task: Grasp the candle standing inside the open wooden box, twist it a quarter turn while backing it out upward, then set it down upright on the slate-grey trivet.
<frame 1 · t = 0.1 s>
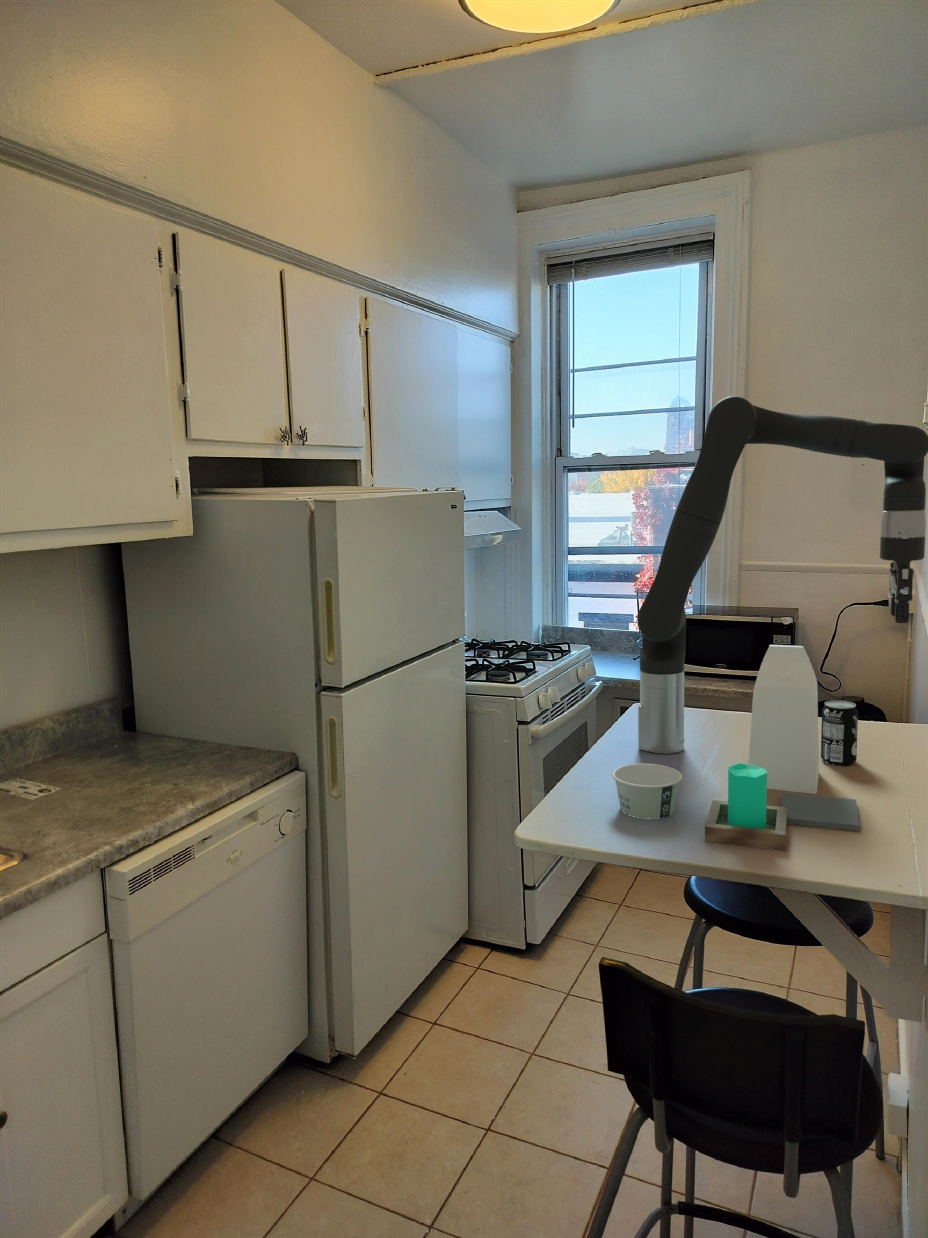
hand: (899, 619, 162), 29 cm above the table, fingers open, 8 cm apart
beverage can: (838, 762, 170), on the table
candle: (746, 832, 138), resting in open wooden box
trivet: (818, 813, 144), on the table
food container: (647, 810, 149), on the table
milk: (783, 781, 161), on the table
open wooden box: (746, 831, 138), on the table
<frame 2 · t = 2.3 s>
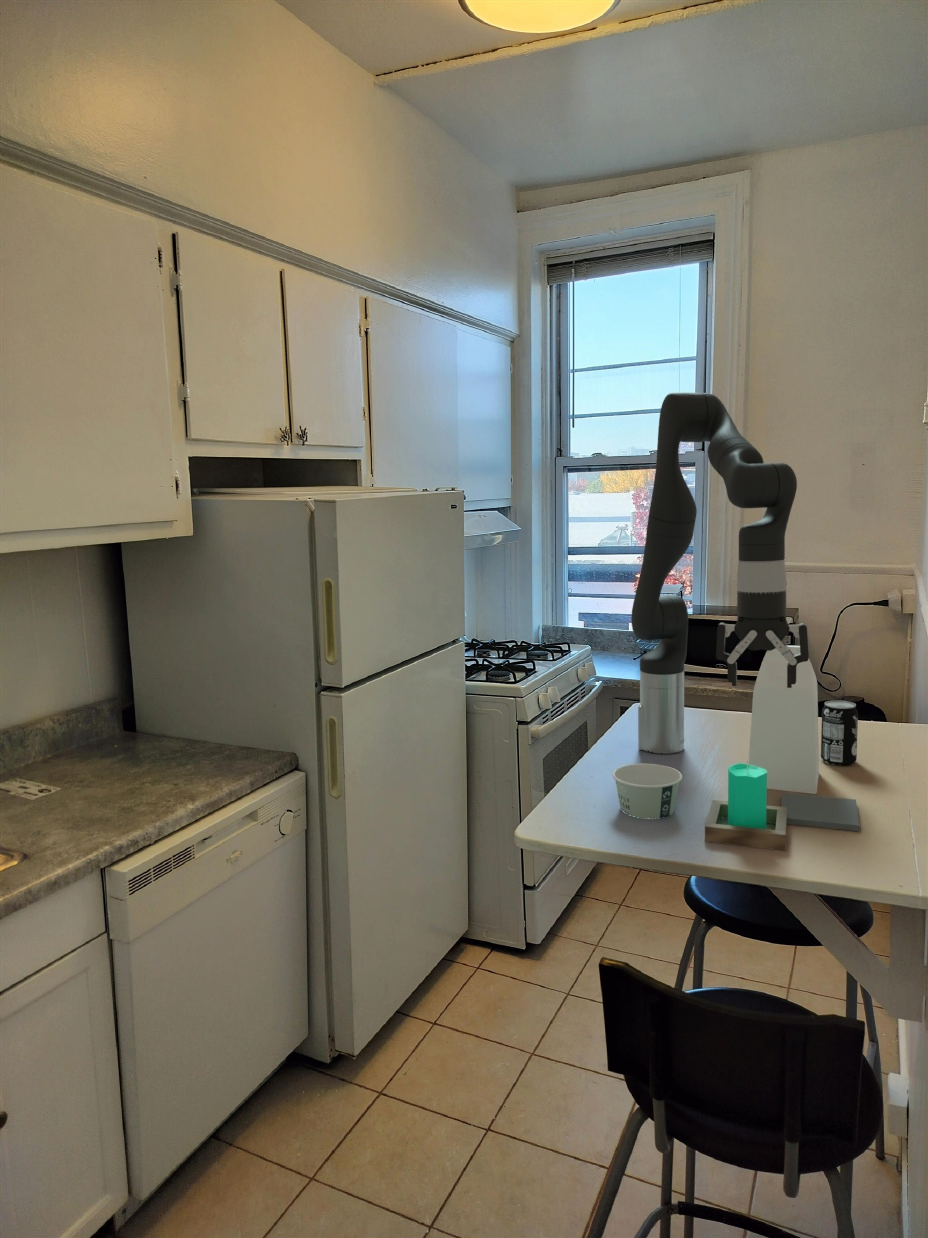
hand: (761, 686, 139), 23 cm above the table, fingers open, 8 cm apart
nothing on the table moved.
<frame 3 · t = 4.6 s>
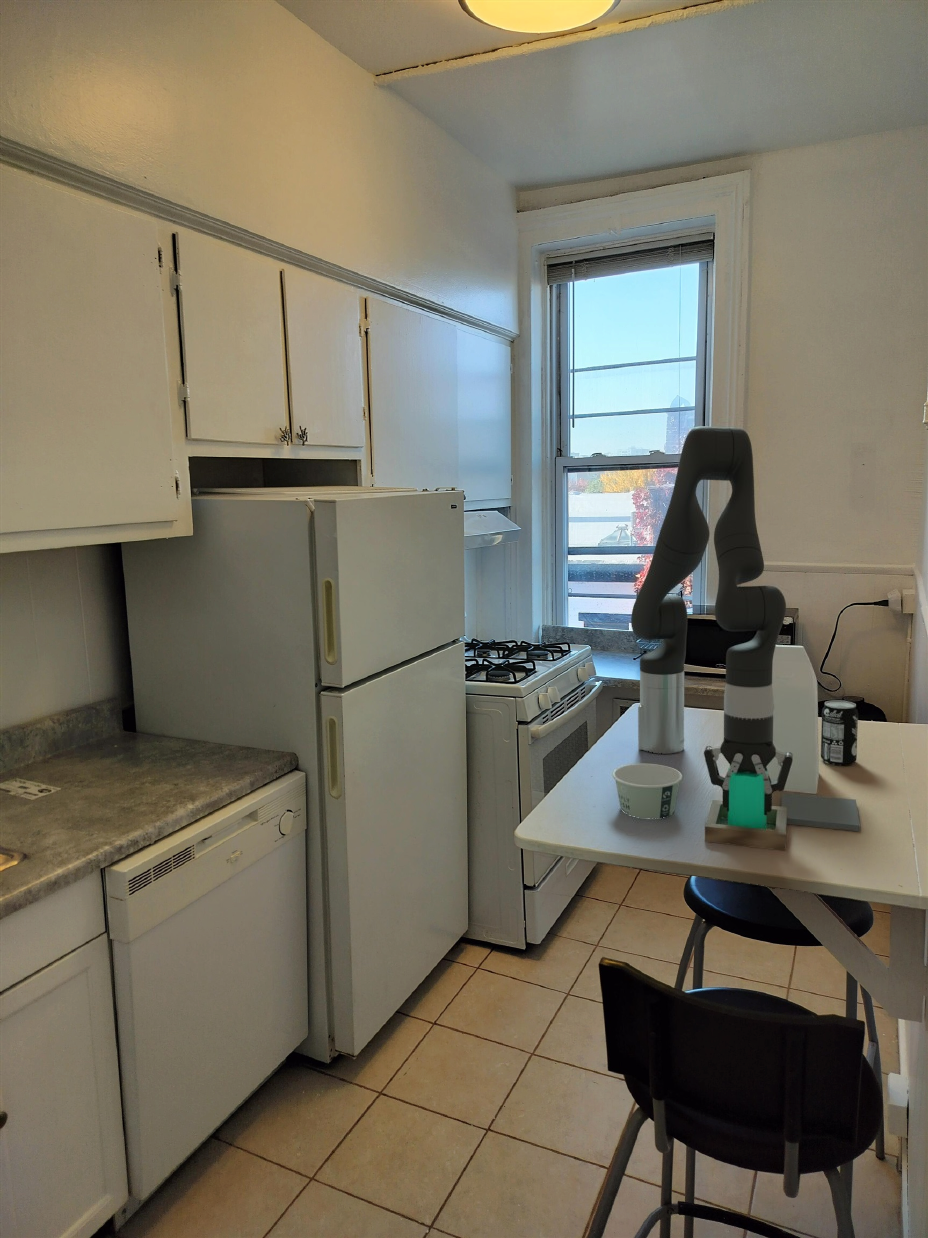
hand: (747, 811, 137), 3 cm above the table, fingers closed on candle, 5 cm apart
candle: (746, 832, 138), resting in open wooden box, touching gripper
everything else where it was.
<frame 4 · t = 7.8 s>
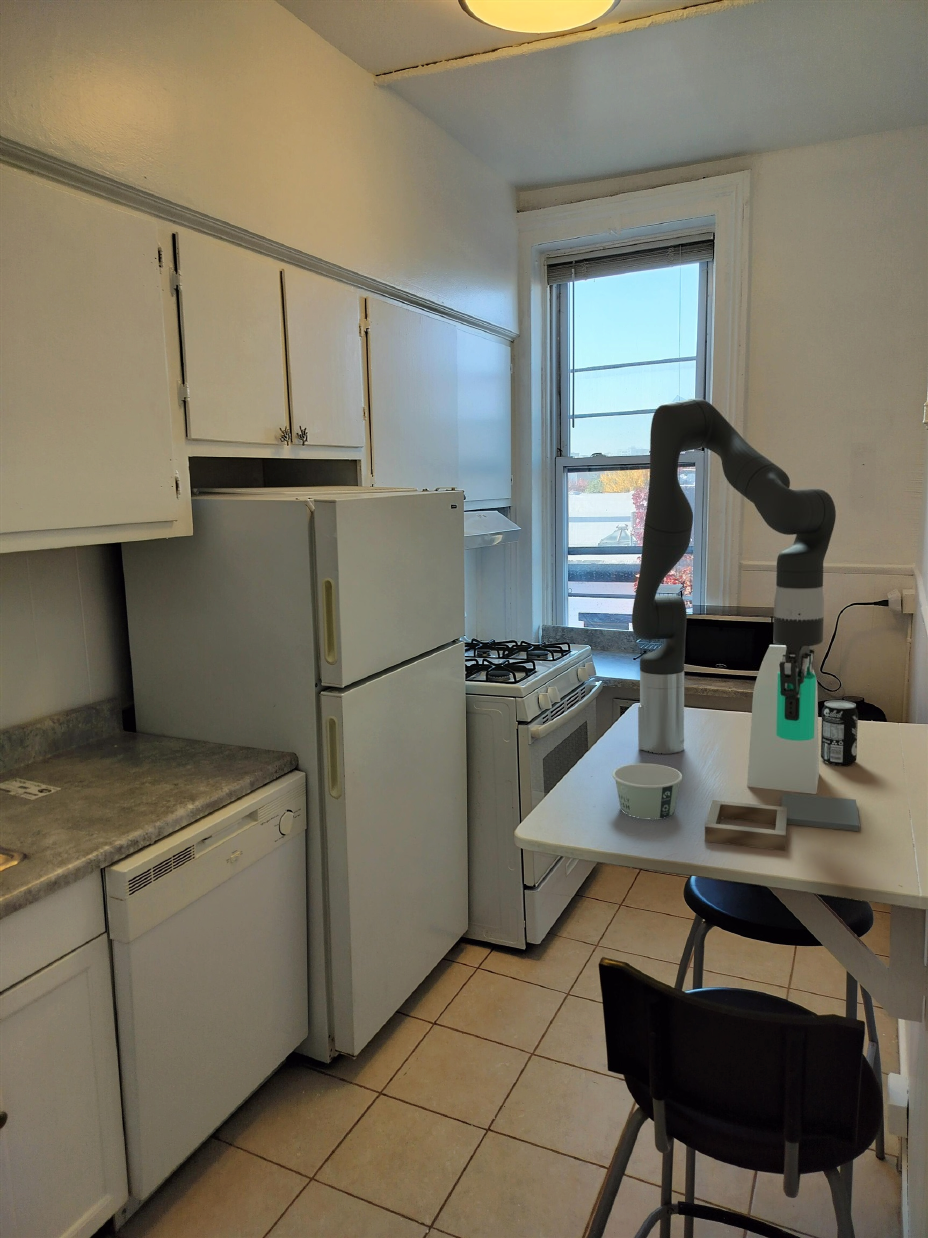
hand: (795, 715, 139), 18 cm above the table, fingers closed on candle, 5 cm apart
candle: (795, 736, 140), point 14 cm above the table, touching gripper
everything else where it was.
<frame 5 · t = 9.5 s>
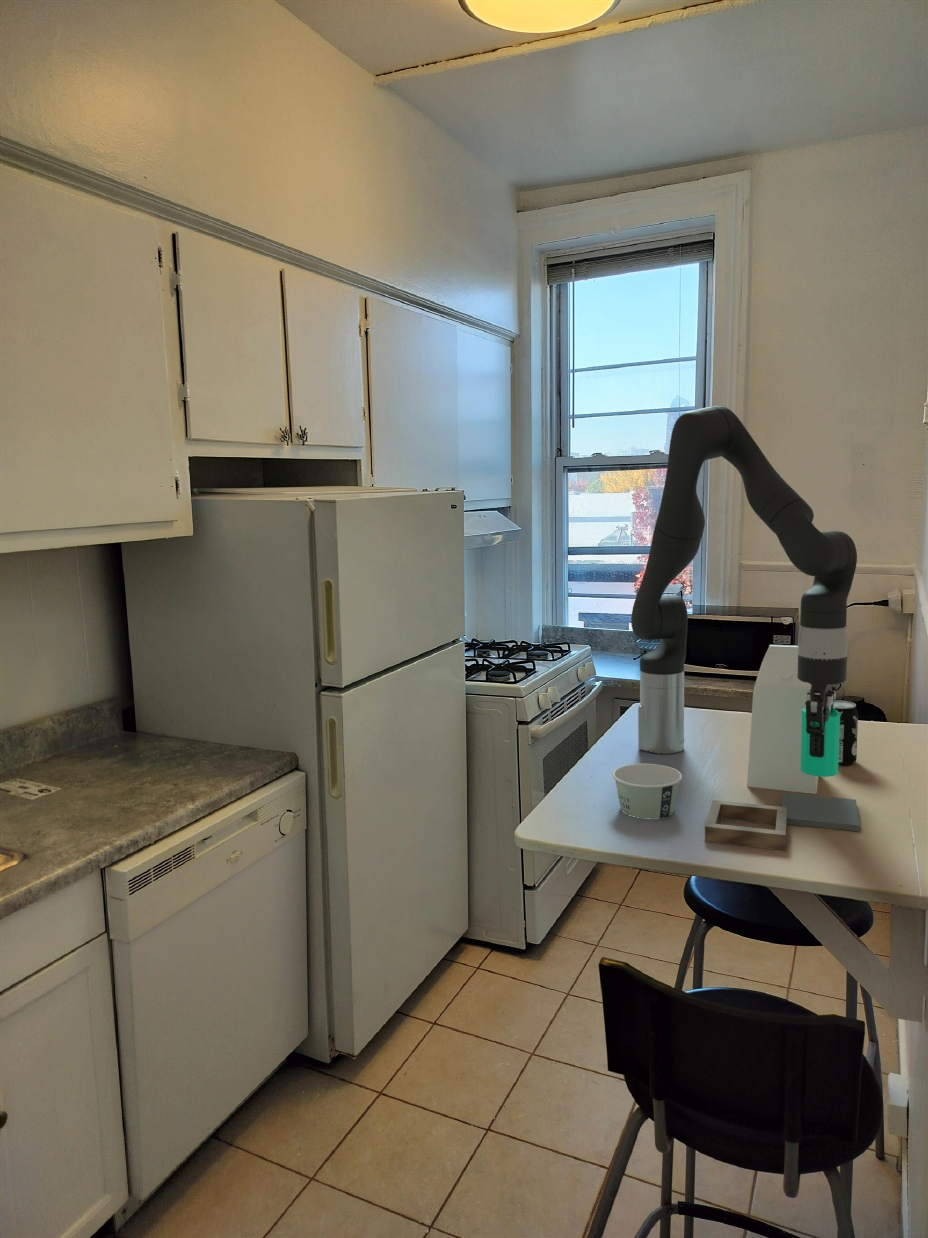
hand: (819, 751, 142), 11 cm above the table, fingers closed on candle, 5 cm apart
candle: (819, 772, 142), point 7 cm above the table, touching gripper
everything else where it was.
when the fingers open (6 cm above the table, at t = 10.9 s): candle drops 1 cm, resting on trivet.
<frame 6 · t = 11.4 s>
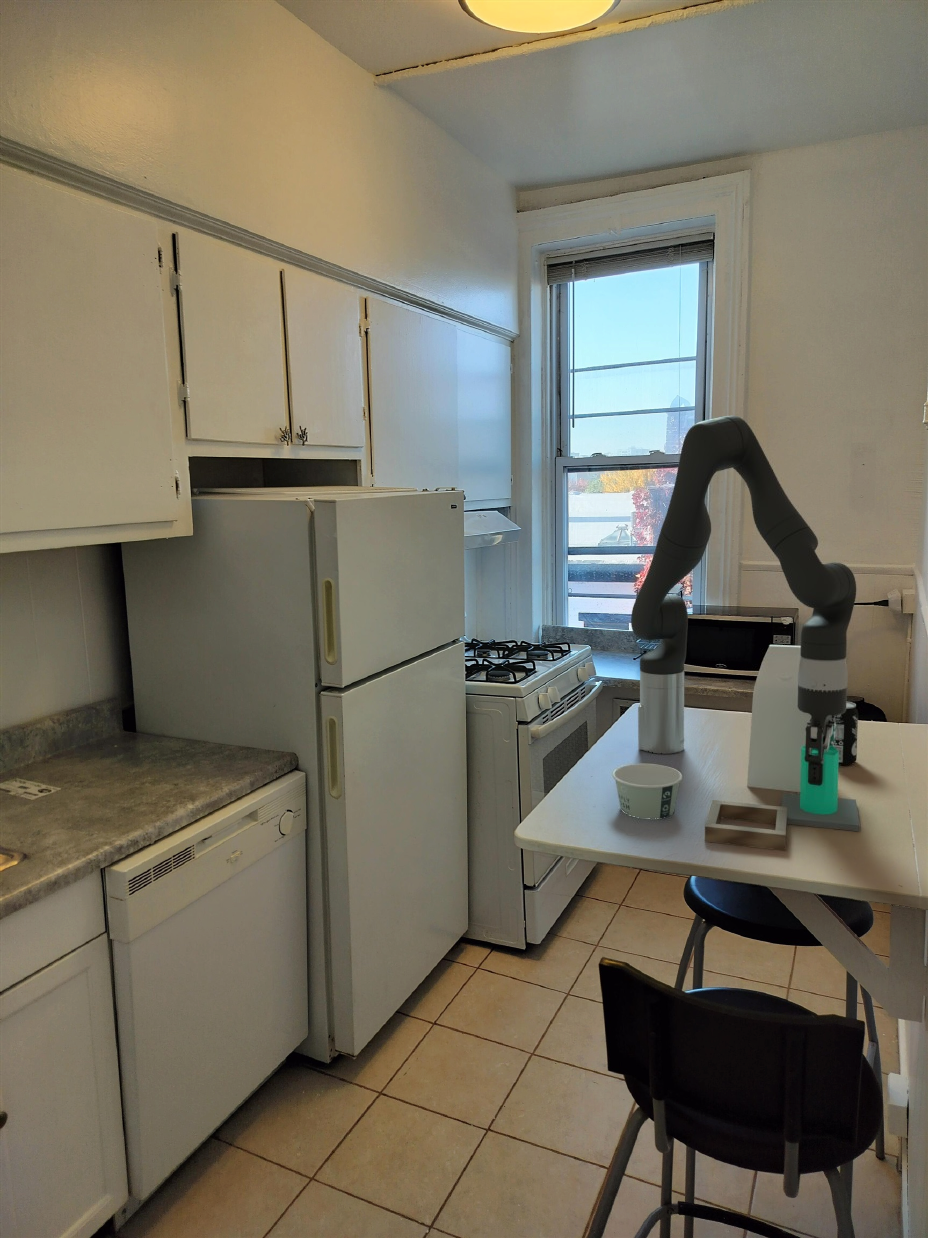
hand: (819, 776, 143), 7 cm above the table, fingers open, 8 cm apart
candle: (818, 809, 144), point 1 cm above the table, touching trivet
everything else where it was.
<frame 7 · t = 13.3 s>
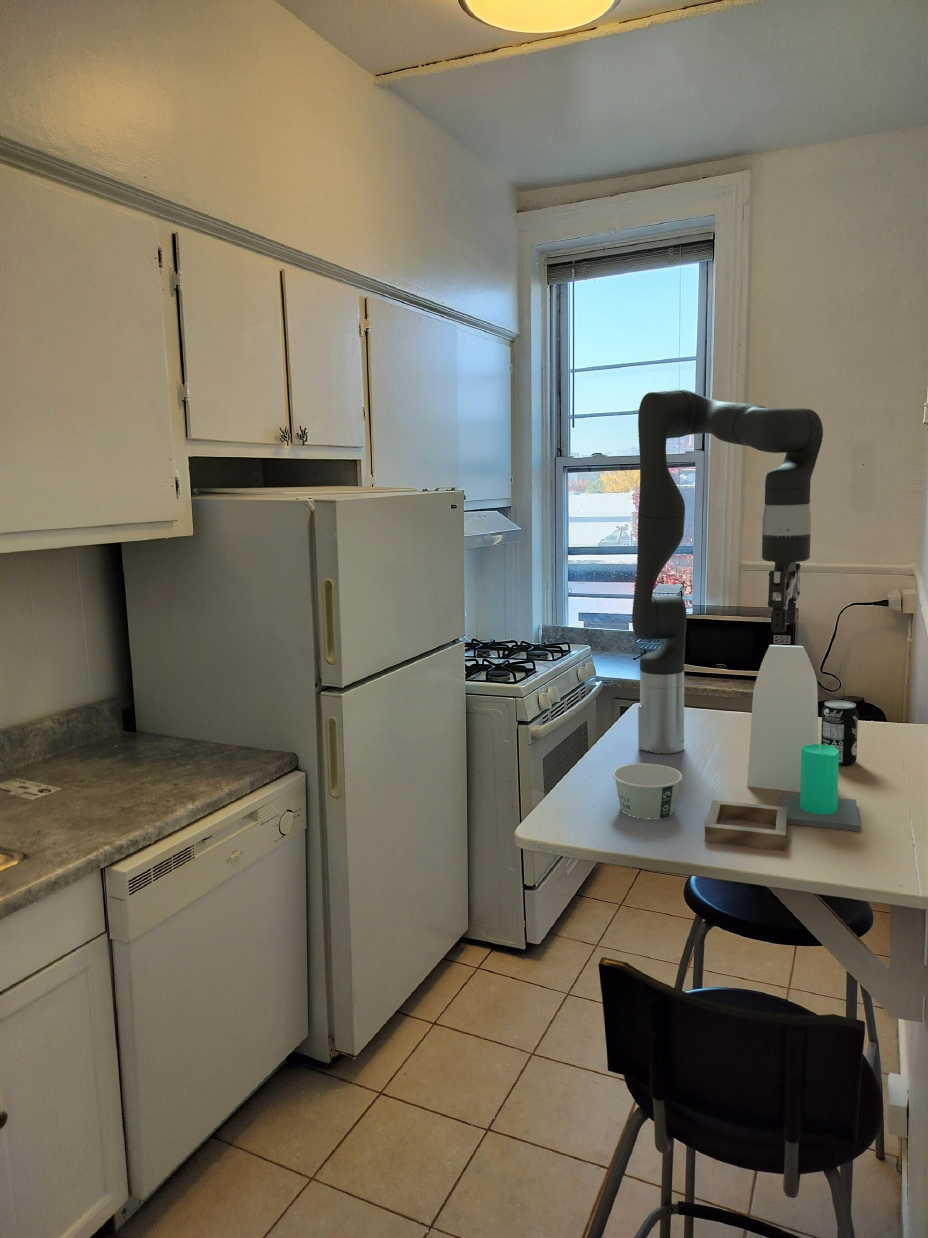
hand: (783, 627, 143), 32 cm above the table, fingers open, 8 cm apart
nothing on the table moved.
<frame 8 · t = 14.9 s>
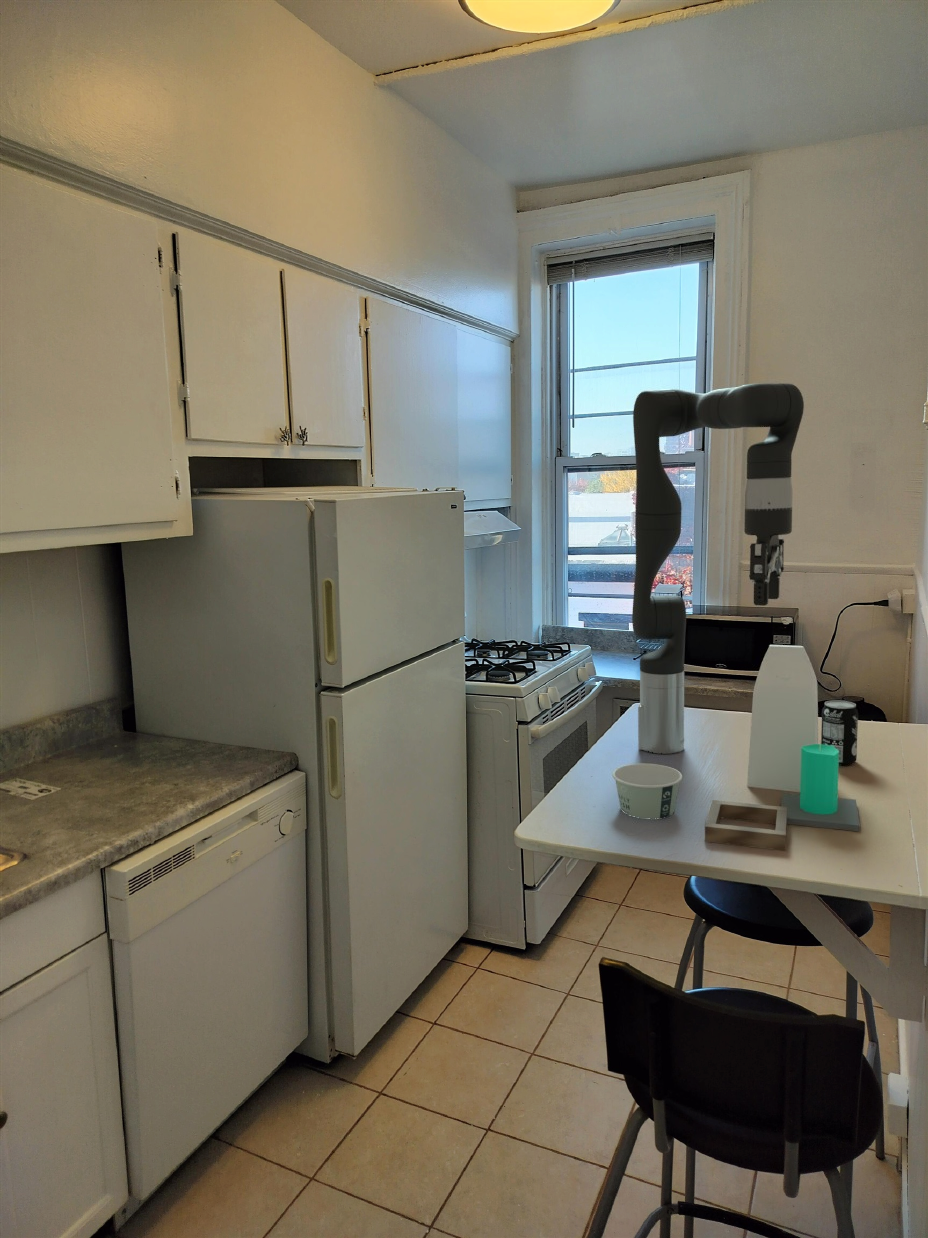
hand: (766, 601, 143), 36 cm above the table, fingers open, 8 cm apart
nothing on the table moved.
at the end: candle inside the target area on the trivet (0.1 cm from its centre), point 0.8 cm above the trivet's base; candle tilted 0°; the gripper is holding nothing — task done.
